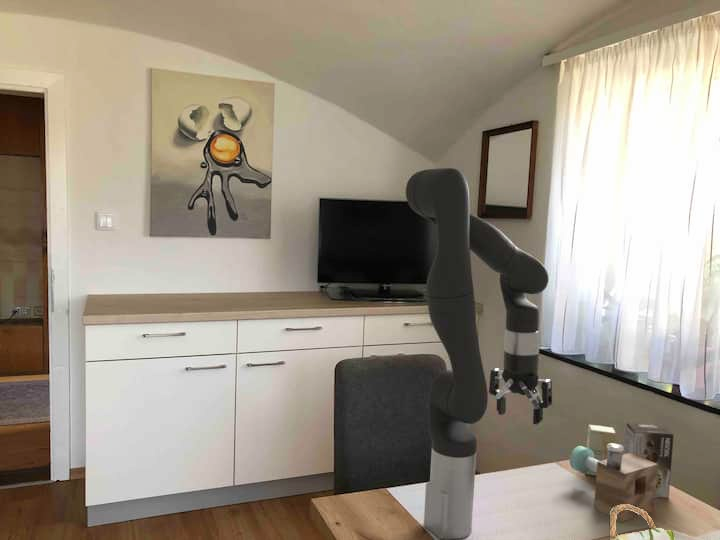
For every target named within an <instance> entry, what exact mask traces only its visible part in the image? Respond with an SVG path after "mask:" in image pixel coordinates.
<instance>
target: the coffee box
mask: <svg viewBox="0 0 720 540" xmlns="http://www.w3.org/2000/svg"><path fill="white" fill-rule="evenodd" d="M625 433H626V434H625V443H624V454H628V453H632V454H635V455H637V456H640V457H642V458H644V459H647V460H649V461H652V462H654V463H657V464H658V470H657V481H656V492H655V498H670V490H671V489H670V487H671V475H672V473H671V472H672V471H671V470H672V460H673V447H674V437H675V436H674V433H673V432H671V431H670V429H669V428H667V426H665V425H664V424H652V423H651V424H650V423H635V422H634V423H633V422H631V423H630V422H626V430H625Z"/></svg>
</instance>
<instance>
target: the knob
mask: <svg viewBox="0 0 720 540" xmlns="http://www.w3.org/2000/svg"><path fill="white" fill-rule="evenodd" d="M597 463H598V460H596V459H594V453H593V451H592V450H590V449H587V448H586V447H585V446H583V445H578V446H576V447H575V448H573V450H572V451H571V453H570V457H569V465H570V467H571V469H573V470H575V471H577V472H579V473H581V474H586V473H587V472H588V471H590V470H592V471H594V472H597Z"/></svg>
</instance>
